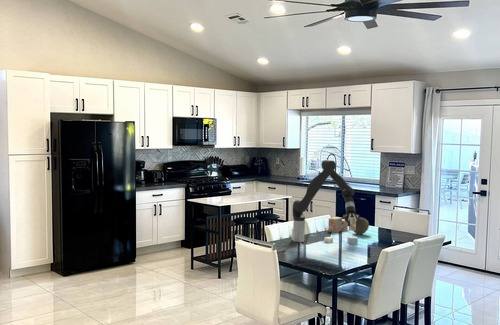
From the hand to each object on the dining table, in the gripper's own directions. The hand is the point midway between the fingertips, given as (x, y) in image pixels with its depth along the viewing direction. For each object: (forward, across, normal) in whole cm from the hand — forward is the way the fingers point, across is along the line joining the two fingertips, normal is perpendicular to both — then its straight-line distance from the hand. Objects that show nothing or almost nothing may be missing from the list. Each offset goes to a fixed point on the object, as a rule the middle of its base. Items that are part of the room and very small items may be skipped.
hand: (352, 225), depth 384 cm
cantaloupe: (-16, +15, +38) cm, 44 cm away
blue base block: (+9, 0, +12) cm, 15 cm away
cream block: (+8, -18, +14) cm, 24 cm away
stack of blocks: (-26, -2, +48) cm, 54 cm away
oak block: (+2, 0, +4) cm, 5 cm away
